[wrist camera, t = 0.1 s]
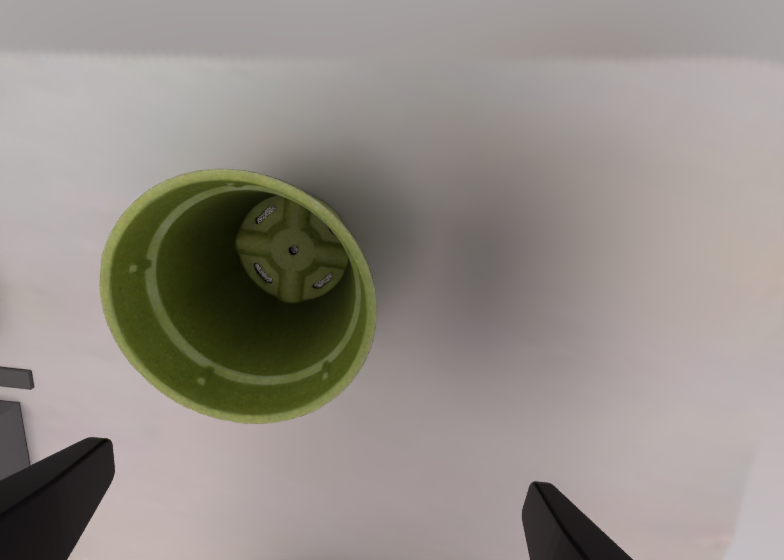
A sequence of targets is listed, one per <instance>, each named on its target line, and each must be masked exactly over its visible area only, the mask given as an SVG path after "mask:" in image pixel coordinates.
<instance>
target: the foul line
mask: <svg viewBox="0 0 784 560" xmlns="http://www.w3.org/2000/svg"><path fill="white" fill-rule="evenodd" d="M0 386H2V387H11V388H20V389H29V390H31V389H32V388H33V381H32V375H31V370H22V369H13V368H4V367H0Z"/></svg>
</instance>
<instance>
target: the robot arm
mask: <svg viewBox="0 0 784 560" xmlns="http://www.w3.org/2000/svg"><path fill="white" fill-rule="evenodd" d="M114 474H115V463H114V453H113V444H112V442H111V440H110V439H107V438H98V437H89V438H86V439H83V440H81V441H79V442H77V443H75V444H73V445H71V446H69V447H67V448H65V449H63V450H61V451H59V452H57V453H55V454H53V455H51V456H49V457H47V458H45V459H43V460H41V461H39V462H37V463H34V464H32V465H30V466H28V467H26V468H24V469H22V470H20V471H18V472H16V473H14V474H12V475H10V476H8V477H6V478H4V479H2V480H0V560H67V559H68V557H69V556H70V554H71V552H72V551H73V549H74V547H75V546H76V544H77V542H78V540H79V539H80V537H81V535H82V533H83V532H84V530H85V528H86V526H87V525H88V523H89V521H90V519H91V518H92V516H93V514H94V512H95V511H96V509H97V507H98V505H99V504H100V502H101V500H102V498H103V497H104V495H105V493H106V491H107V490H108V488H109V486H110V484H111V482H112V480H113V478H114ZM522 522H523V527H524V532H525V537H526V542H527V547H528V552H529V557H530V560H633V559H632V558H631V557H630V556H629V555H628V554H627V553H625V552H624V551H623V550H622V549H621V548H620V547H619V546H618V545H617V544H616V543H615V542H614V541H613V540H612V539H610V538H609V537H608V536H607V535H606V534H605V533H604V532H603V531H602V530H601V529H600V528H599V527H598V526H597V525H595V524H594V523H593V522H592V521H591V520H590V519H589V518H588V517H587V516H586V515H585V514H584V513H583V512H582V511H580V510H579V509H578V508H577V507H576V506H575V505H574V504H573V503H572V502H571V501H570V500H569V499H568V498H567V497H565V496H564V495H563V494H562V493H561V492H560V491H559V490H558V489H557V488H556V487H555V486H554V485H552V484H551V483H548V482H538V481H534V482H532V483H531V484H530V486H529V489H528V492H527V496H526V499H525V502H524V505H523V509H522Z"/></svg>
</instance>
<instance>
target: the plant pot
mask: <svg viewBox="0 0 784 560" xmlns="http://www.w3.org/2000/svg"><path fill="white" fill-rule="evenodd" d="M270 206H273V207H275V208H276V211H275V212H273V213H271V214H270V215H268V216H267V217H266V218H265V219H263V220H262V221H261V223H260V224H256V218H257V217H258V216H259V215H261V214H262V212H263V210H264V209H266V208H268V207H270ZM327 226H328V227H329V228H330V229H331V230H332V232H333V233H334V234H332V233H331V232H330V230H329V228H328V227H327ZM291 246H296V247H297V248H298V253H297V254H295V255H291V254H290V253H289V248H290V247H291ZM255 263H258V264H259V265H260V267H261V268H262V269H263V271H264V272H265V273H266V274H267V275H268V276H269V277H270V278H271V279H272V283H268V282H266V281H264V280H263V279H262V278H261V277H260V276H259V274H258V273H257V272H256V270H255V267H254V264H255ZM329 273H332V278H331V280H330V281H329V282H327V283H326V284H325V285H324V286H323V287H321V288H319V289H318V288H316V289H315V288H314V287H313V285H314V284H316V283H317V282H319V281H321V280H322V279H323V278H325V277H326V276H327V275H328V274H329ZM99 287H100V297H101V302H102V307H103V312H104V315H105V318H106V322H107V325H108V327H109V329H110V331H111V333H112V336H113V338H114V339H115V342H116V343H117V344H118V346H119V348H120V349H121V351H122V353H123V354H124V356H125V357H126V358H127V359H128V361H129V362H130V364H131V365H132V366H133V367H134V368H135V369H136V370H137V371H138V372H139V373H140V374H141V375H142V376H143V377H144V378H145V379H146V380H147V381H148V382H149V383H150V384H151V385H153V386H154V387H155V388H156V389H158V390H159V391H160V392H161V393H163V394H164V395H166V396H167V397H168V398H170V399H172V400H174V401H175V402H177V403H179V404H181V405H183V406H184V407H186V408H189V409H192V410H194V411H196V412H198V413H201V414H204V415H207V416H210V417H213V418H217V419H221V420H227V421H232V422H237V423H243V424H249V423H250V424H264V423H275V422H280V421H285V420H290V419H293V418H297V417H300V416H303V415H306V414H308V413H311V412H313V411H315V410H317V409H319V408H320V407H322V406H324V405H325V404H327V403H328V402H330V401H331V400H332V399H334V398H335V397H336V396H338V395H339V394H340V393H341V392H342V391H343V390H344V389H345V388H346V387H347V386H348V385H349V384H350V383H351V382H352V380H353V379H354V378H355V377H356V375H357V374H358V372H359V371H360V369H361V367H362V366H363V364H364V362H365V360H366V358H367V355H368V353H369V351H370V348H371V345H372V342H373V337H374V332H375V327H376V317H377V302H376V292H375V287H374V282H373V278H372V275H371V272H370V269H369V266H368V263H367V261H366V259H365V256H364V254H363V253H362V251H361V249H360V247H359V245H358V244H357V242H356V240H355V239H354V237H353V236H352V234H351V233H350V232H349V230H348V229H347V228H346V227H345V225H344V224H343V222H342V220H341V219H340V217H339V216H338V215H337V214H336V212H335V211H334V210H333V209H331V208H330V207H329V206H328V205H327V204H325V203H324V202H322V201H321V200H319V199H317V198H315V197H313V196H310V195H308V194H307V193H305V192H304V191H302V190H300V189H298V188H296V187H295V186H293V185H290V184H288V183H286V182H283V181H281V180H279V179H276V178H273V177H270V176H267V175H263V174H259V173H255V172H250V171H244V170H234V169H210V170H200V171H194V172H189V173H185V174H182V175H179V176H176V177H173V178H171V179H168V180H166V181H164V182H162V183H159V184H158V185H156V186H154V187H152V188H151V189H149V190H148V191H146V192H145V193H144V194H142V195H141V196H140V197H139V198H138V199H137V200H136V201H134V202H133V203H132V204H131V205H130V206H129V207H128V208H127V209H126V211H125V212H124V213H123V214H122V215H121V217H120V218H119V220H118V221H117V223H116V225H115V226H114V228H113V230H112V231H111V233H110V235H109V237H108V240H107V242H106V245H105V248H104V251H103V254H102V259H101V270H100V284H99Z"/></svg>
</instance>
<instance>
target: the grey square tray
mask: <svg viewBox="0 0 784 560" xmlns="http://www.w3.org/2000/svg"><path fill="white" fill-rule="evenodd" d="M28 466H30V464H29V458H28V452H27V446H26V440H25V434H24V428H23V422H22V416H21V411H20V405H19V403H18V402H8V401H0V480H2V479H4V478H6V477H8V476H10V475H12V474H14V473H16V472H18V471H20V470H22V469H24V468H26V467H28Z"/></svg>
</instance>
